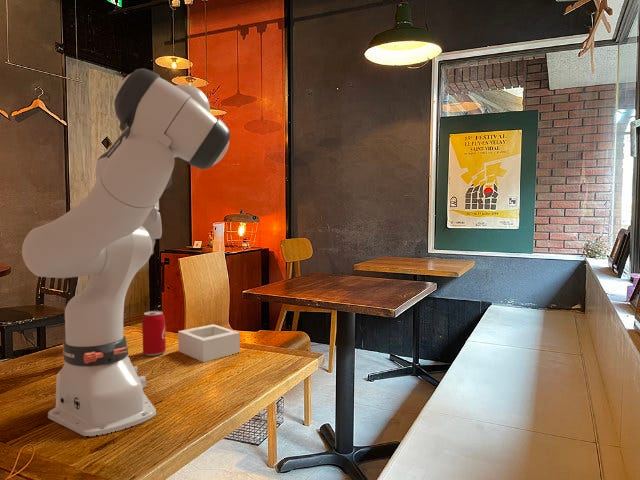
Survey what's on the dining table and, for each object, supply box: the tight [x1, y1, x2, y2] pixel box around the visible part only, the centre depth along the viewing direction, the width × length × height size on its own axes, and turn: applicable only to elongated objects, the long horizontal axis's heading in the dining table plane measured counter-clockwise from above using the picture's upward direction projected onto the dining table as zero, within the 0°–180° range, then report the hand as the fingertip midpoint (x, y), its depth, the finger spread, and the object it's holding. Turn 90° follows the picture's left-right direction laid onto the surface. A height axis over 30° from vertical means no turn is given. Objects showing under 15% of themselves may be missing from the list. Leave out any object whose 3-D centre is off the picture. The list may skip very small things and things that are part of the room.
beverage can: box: [141, 310, 167, 357], centre depth 136 cm, size 6×6×12 cm
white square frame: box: [177, 323, 241, 363], centre depth 137 cm, size 14×12×6 cm
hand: (143, 253), depth 133 cm, fingers open, 8 cm apart
